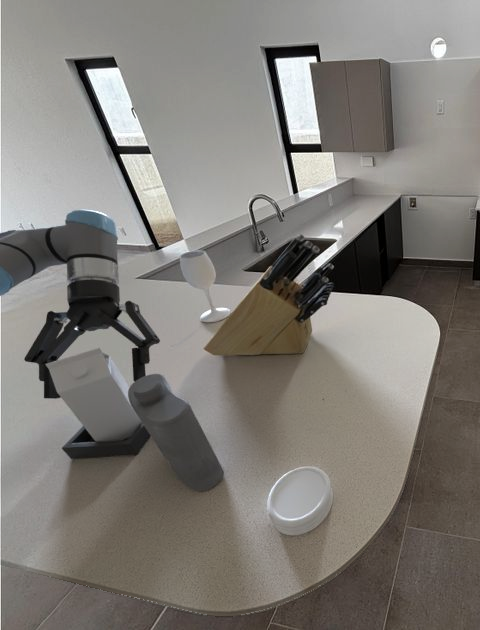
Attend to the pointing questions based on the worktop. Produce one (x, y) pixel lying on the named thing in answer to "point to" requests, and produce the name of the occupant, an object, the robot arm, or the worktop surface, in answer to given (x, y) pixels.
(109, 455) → the tray
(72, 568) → the worktop surface
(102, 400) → the milk carton
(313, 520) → the coaster
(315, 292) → the knife block
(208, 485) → the flask
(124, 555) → the worktop surface
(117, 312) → the robot arm
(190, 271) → the wineglass
